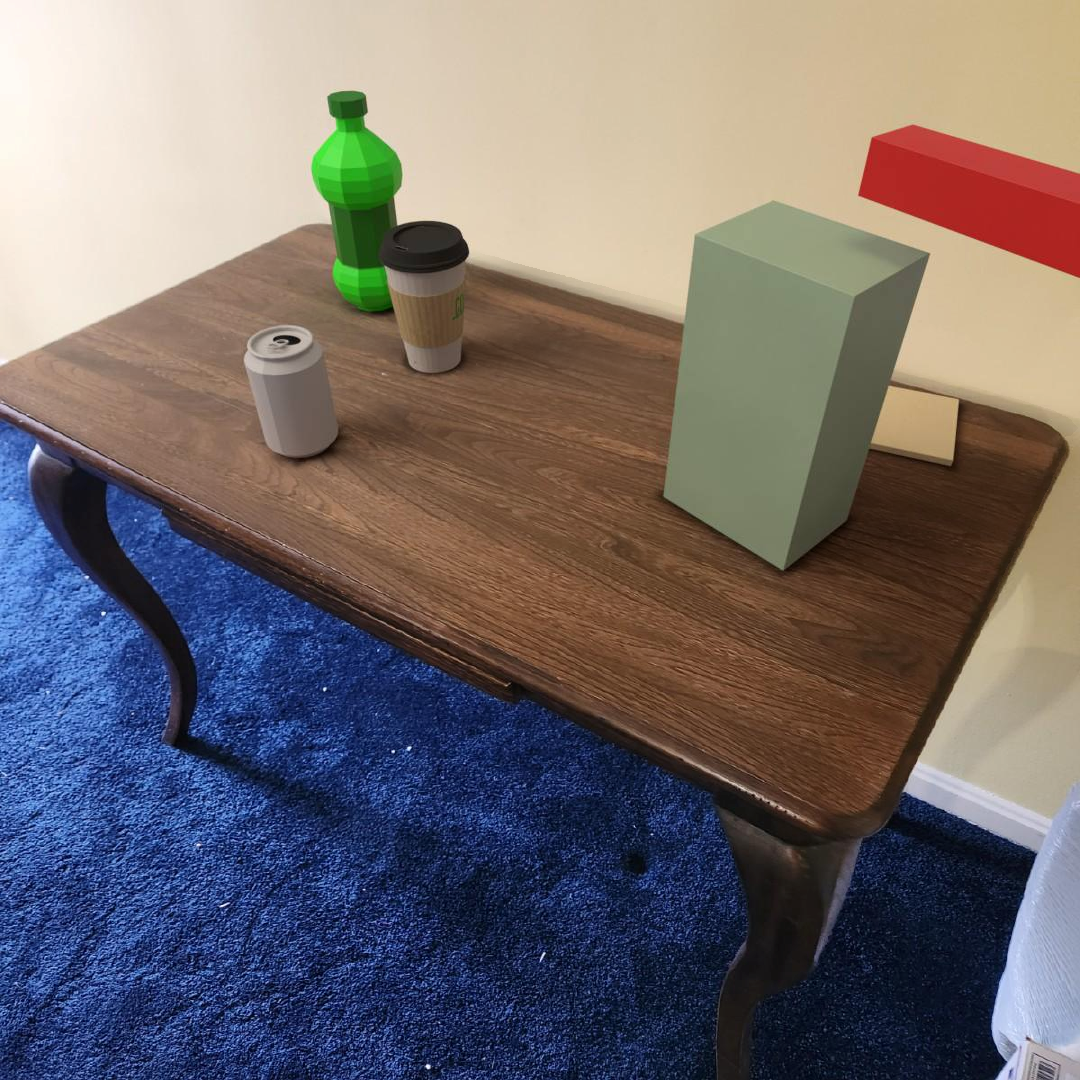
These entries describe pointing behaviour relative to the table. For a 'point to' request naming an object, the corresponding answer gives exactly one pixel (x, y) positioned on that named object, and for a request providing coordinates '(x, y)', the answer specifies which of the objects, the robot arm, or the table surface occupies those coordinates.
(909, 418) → the mat
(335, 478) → the table surface
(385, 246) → the coffee cup
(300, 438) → the can
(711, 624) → the table surface
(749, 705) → the table surface
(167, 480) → the table surface
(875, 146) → the long red beam
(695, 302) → the stand
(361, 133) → the plastic bottle
